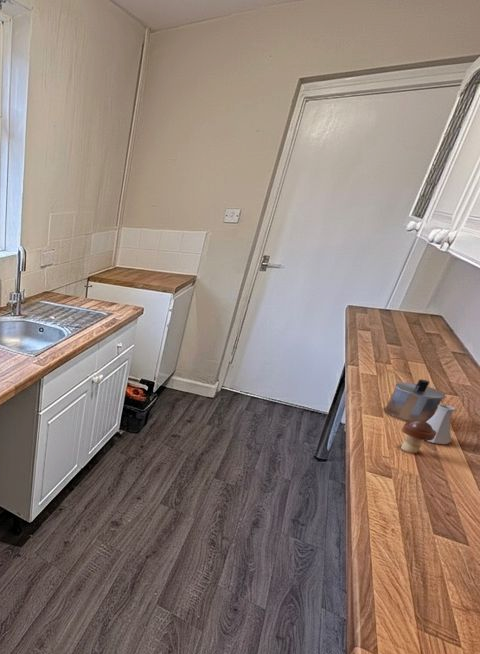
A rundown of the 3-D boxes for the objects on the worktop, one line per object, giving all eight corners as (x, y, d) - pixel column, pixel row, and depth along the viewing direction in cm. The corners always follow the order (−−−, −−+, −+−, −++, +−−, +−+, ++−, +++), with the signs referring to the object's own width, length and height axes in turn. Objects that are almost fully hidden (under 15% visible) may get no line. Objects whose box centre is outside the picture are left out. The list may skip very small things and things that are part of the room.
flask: (405, 431, 120) (420, 401, 116) (427, 430, 120) (443, 400, 116) (434, 445, 113) (451, 414, 109) (456, 444, 114) (474, 412, 110)
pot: (425, 413, 130) (437, 389, 126) (434, 427, 122) (447, 401, 119) (382, 405, 135) (393, 381, 132) (388, 417, 128) (400, 393, 124)
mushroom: (421, 448, 112) (436, 420, 108) (427, 459, 107) (443, 430, 104) (391, 441, 115) (405, 414, 112) (396, 451, 111) (410, 423, 107)
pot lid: (438, 391, 127) (444, 379, 125) (449, 404, 119) (455, 391, 117) (390, 382, 132) (396, 371, 131) (397, 394, 124) (403, 382, 123)
